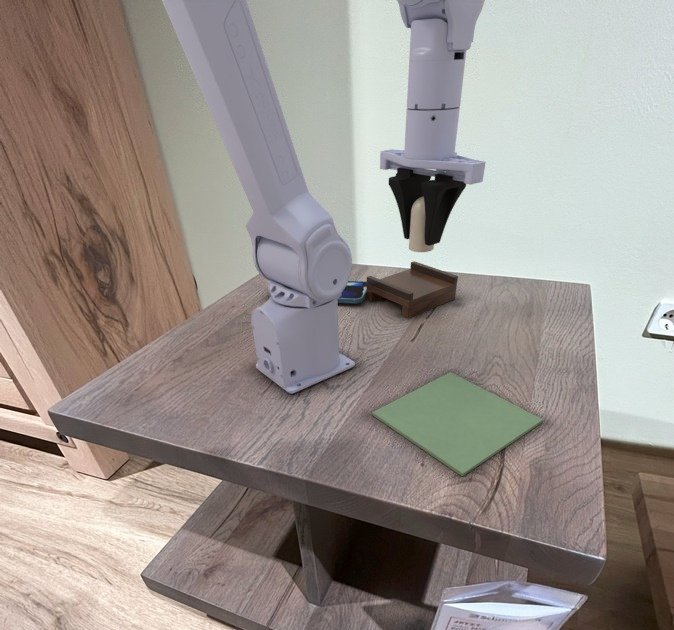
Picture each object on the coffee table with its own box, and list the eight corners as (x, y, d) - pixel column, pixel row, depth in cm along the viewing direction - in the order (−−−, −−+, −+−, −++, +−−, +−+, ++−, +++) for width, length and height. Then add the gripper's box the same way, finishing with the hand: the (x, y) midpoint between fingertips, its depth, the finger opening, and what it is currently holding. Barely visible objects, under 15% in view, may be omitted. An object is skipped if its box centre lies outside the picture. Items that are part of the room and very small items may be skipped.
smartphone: (283, 278, 76) (371, 281, 72) (284, 283, 76) (371, 287, 73) (267, 295, 70) (361, 299, 67) (268, 301, 71) (361, 305, 67)
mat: (462, 476, 40) (462, 473, 39) (371, 415, 47) (372, 412, 47) (542, 422, 45) (543, 419, 45) (450, 374, 52) (450, 371, 52)
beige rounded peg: (421, 254, 57) (426, 201, 53) (403, 248, 59) (406, 196, 55) (438, 248, 59) (444, 196, 55) (420, 243, 60) (424, 192, 57)
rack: (407, 318, 64) (409, 294, 62) (366, 299, 70) (366, 276, 67) (455, 299, 69) (458, 275, 66) (412, 283, 74) (414, 260, 72)
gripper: (512, 107, 47) (488, 245, 55) (411, 103, 55) (404, 223, 64) (467, 113, 43) (449, 259, 52) (367, 108, 52) (366, 233, 61)
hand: (421, 240), depth 58 cm, fingers closed on beige rounded peg, 3 cm apart
